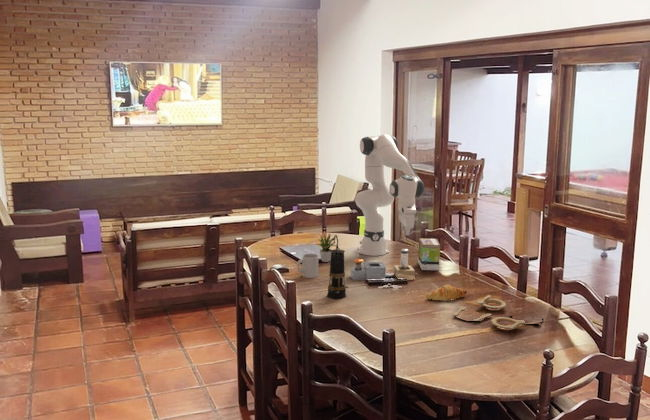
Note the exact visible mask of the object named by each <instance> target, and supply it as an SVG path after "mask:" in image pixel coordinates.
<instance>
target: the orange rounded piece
mask: <svg viewBox="0 0 650 420" xmlns="http://www.w3.org/2000/svg"><path fill="white" fill-rule="evenodd" d="M353 263H355V267H356V269H355V270H361V267H362V263H363V264H364V259H363V258H354V259H353Z"/></svg>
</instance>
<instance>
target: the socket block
mask: <svg viewBox="0 0 650 420" xmlns="http://www.w3.org/2000/svg"><path fill="white" fill-rule="evenodd" d="M362 267H364V268H365V270H366V280H367V279H379V278H385V279H386V270H387V268H386V266H385V264H384V263H383V261H368V262H367V261H366V262H365V261H363V265H362ZM366 280H365V281H366Z"/></svg>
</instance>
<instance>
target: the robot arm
mask: <svg viewBox="0 0 650 420" xmlns="http://www.w3.org/2000/svg"><path fill="white" fill-rule="evenodd" d="M359 151H360V152H361V154H362V155H363V156H364V157H365V159H364V178H365V181H366V182H367V183H370V184H371V187H372V189H365V190H362V191H359V192H358V193H356V195H355V198H354V200H355V202H354V203H355V205H356V206H357V207H358V208H359V209H360V210H361V211H362V214H363V217H364V230H363V237H362V240H359V246H358V249H357V253H358V254H362V255H366V256H373V257H374V256H375V257H376V256H384V255H386V254H389V252H390V251H389V249H387V238H385V237H384V236H385V230H384V224H385V223H384V219H385V218H384V217H383V216H382V215H381V214H379V213H378V209H377V208H382V207H383V208H384V207H387V206H391V205H392V204H393V203H394V201H395V198H398V200H397V211H398V221H399V222H400V225H401V231H402V232H405V235H406V236H410V233H411V229H414V226H415V219H416V214H417V209H416V199H417V198H418V199H419V198H420V197H421V196H423V195H424V193H425V191H426V189H425V183H424V182H423V181H422V179H421V178H420V176H418V174H417V172H416V170H415V169H414V167H413V165H412V163H411V162H410V160H409V159H408V158H407V157H406V156H404V155H402V153H401V152H400V151H399V149H398V140H397V138H396V137H395V136H394V135H388V134H385V133H384V134H381V135H374V136H364V137H363V138H361V139H360V141H359ZM384 166H385V167H387V168H389V169H390V168H391V169H395V170H399V171H401V172H403V175H401V176H400V177H399V178H397V179H395V180H394V179H393V180H392V181H391V183H390V184H389V186H388V185H387V183H386V181H385V172H384V171H385V169H384Z"/></svg>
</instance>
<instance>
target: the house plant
mask: <svg viewBox="0 0 650 420" xmlns="http://www.w3.org/2000/svg"><path fill="white" fill-rule="evenodd" d="M323 235H324V237H323V236H322V235H321V234H319V237H320V238H319V237H317V239H318V241H319V242H320V243H316V244H315V246H316V245H317V246H321V249H319V253H320V260H322V261H321V262H323V263H328V262H331V252H330V251H331V250H332V249H331V247H335V248H336V244H334V237H332V238H331V236H332V234H330V232H329V234H328V236H327V235H326V233H324V234H323Z"/></svg>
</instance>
